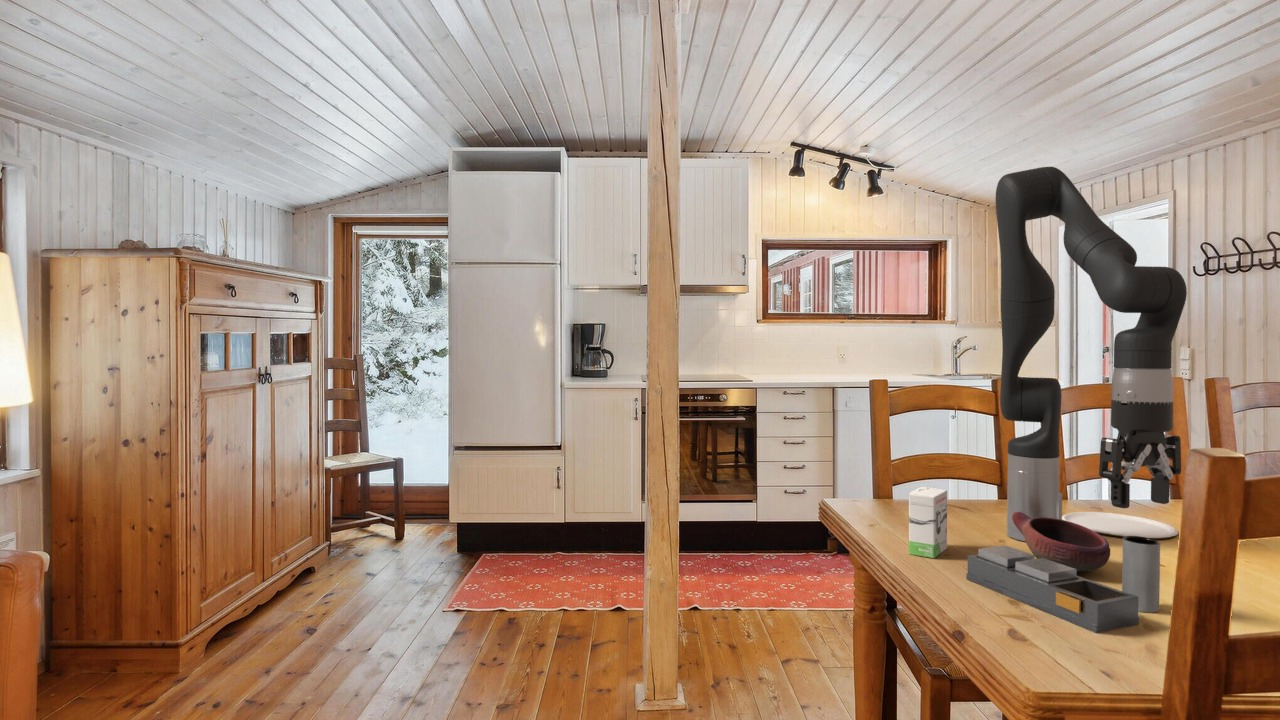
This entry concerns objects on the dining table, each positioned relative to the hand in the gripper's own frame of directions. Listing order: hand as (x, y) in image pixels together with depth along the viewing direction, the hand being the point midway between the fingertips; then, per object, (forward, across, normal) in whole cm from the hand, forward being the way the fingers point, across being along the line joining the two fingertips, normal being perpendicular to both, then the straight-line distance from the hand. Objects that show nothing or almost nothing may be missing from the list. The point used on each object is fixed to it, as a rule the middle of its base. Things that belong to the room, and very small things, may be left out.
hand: (1140, 505), depth 101 cm
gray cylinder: (+16, 0, 0) cm, 16 cm away
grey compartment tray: (+16, +11, -7) cm, 20 cm away
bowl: (+16, -5, -18) cm, 24 cm away
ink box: (+16, +10, -33) cm, 38 cm away
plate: (+16, -42, -33) cm, 56 cm away
